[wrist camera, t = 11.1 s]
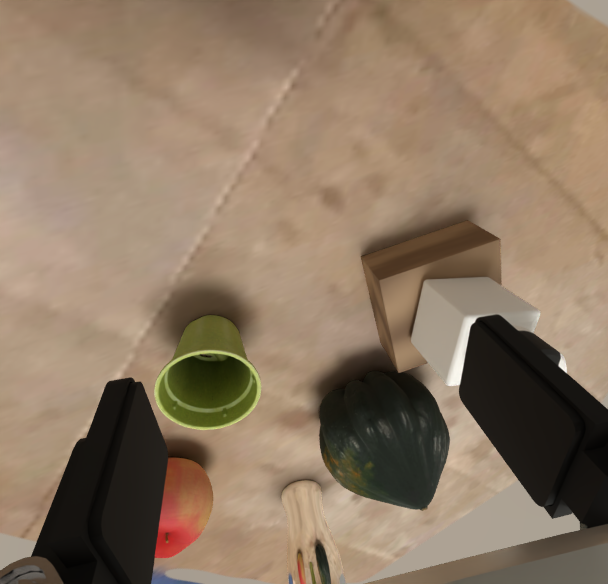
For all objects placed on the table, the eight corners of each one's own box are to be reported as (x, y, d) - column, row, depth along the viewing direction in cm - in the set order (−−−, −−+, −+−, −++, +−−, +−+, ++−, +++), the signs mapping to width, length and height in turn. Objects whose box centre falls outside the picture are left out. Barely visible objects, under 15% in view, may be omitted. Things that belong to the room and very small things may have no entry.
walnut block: (359, 255, 41) (379, 280, 36) (465, 219, 41) (500, 238, 36) (379, 341, 47) (398, 373, 42) (472, 309, 47) (502, 337, 42)
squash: (321, 374, 40) (351, 537, 36) (451, 353, 43) (496, 502, 38) (303, 389, 54) (323, 509, 49) (404, 372, 56) (432, 485, 51)
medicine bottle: (408, 341, 39) (482, 431, 29) (422, 278, 36) (510, 353, 26) (470, 336, 41) (560, 419, 31) (488, 275, 38) (596, 344, 27)
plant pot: (266, 311, 42) (274, 361, 34) (241, 377, 46) (244, 435, 38) (177, 291, 39) (166, 341, 32) (159, 364, 43) (145, 424, 35)
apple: (190, 496, 54) (183, 575, 45) (123, 478, 50) (101, 560, 41) (226, 452, 51) (226, 527, 42) (159, 429, 47) (143, 507, 39)
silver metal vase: (291, 473, 55) (310, 593, 42) (332, 481, 58) (362, 597, 45) (270, 504, 58) (282, 626, 45) (310, 510, 60) (333, 627, 47)
